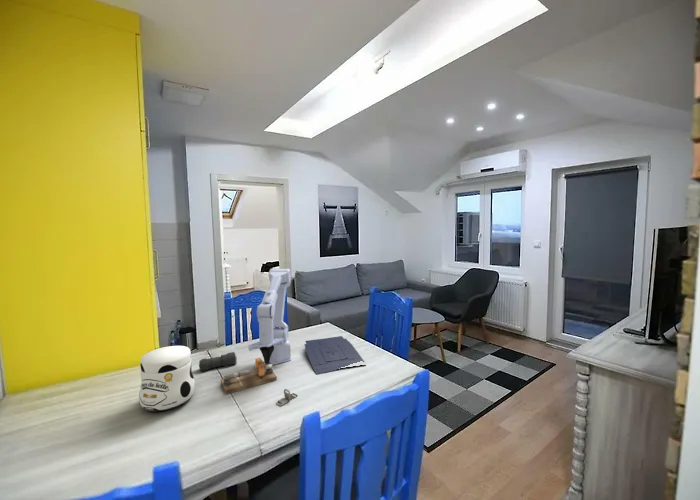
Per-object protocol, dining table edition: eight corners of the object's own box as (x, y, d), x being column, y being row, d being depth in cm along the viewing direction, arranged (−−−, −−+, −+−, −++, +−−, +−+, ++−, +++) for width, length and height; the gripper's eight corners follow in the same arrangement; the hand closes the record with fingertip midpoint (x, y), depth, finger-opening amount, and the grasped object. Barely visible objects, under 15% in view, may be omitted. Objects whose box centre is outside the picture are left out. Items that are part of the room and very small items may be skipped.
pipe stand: (269, 370, 133) (269, 359, 132) (276, 379, 124) (276, 368, 124) (221, 382, 122) (220, 370, 122) (225, 394, 114) (225, 381, 113)
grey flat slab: (344, 340, 165) (345, 334, 165) (366, 370, 138) (367, 363, 137) (301, 346, 157) (301, 339, 156) (315, 379, 129) (315, 372, 129)
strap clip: (280, 407, 106) (280, 396, 105) (275, 404, 108) (275, 393, 107) (298, 396, 113) (298, 386, 112) (292, 394, 114) (292, 383, 114)
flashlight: (200, 374, 129) (199, 362, 129) (198, 369, 134) (198, 357, 134) (236, 365, 138) (236, 353, 137) (234, 360, 142) (234, 349, 142)
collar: (260, 369, 128) (260, 357, 128) (264, 375, 123) (264, 363, 123) (255, 370, 127) (255, 358, 127) (259, 376, 122) (259, 364, 122)
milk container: (135, 422, 97) (132, 369, 96) (143, 395, 112) (141, 349, 111) (195, 407, 105) (193, 358, 104) (195, 384, 120) (193, 341, 119)
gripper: (251, 338, 118) (251, 371, 119) (286, 331, 126) (286, 362, 127) (246, 333, 124) (247, 364, 125) (280, 326, 132) (280, 356, 133)
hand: (266, 363), depth 127 cm, fingers closed
